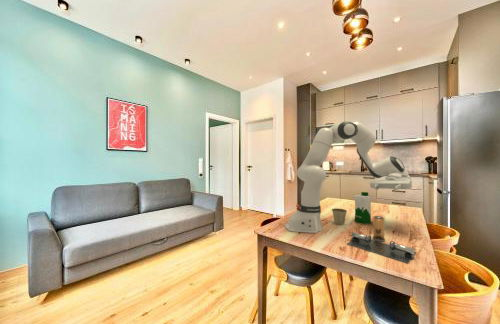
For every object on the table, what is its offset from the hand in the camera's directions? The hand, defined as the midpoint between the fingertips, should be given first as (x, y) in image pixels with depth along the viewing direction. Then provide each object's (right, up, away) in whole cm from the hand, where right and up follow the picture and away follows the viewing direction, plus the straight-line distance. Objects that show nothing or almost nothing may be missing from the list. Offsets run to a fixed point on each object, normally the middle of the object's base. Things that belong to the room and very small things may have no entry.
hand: (385, 188), depth 111 cm
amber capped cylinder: (-9, -26, -9) cm, 29 cm away
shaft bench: (-15, -26, -19) cm, 35 cm away
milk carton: (-1, -26, +20) cm, 33 cm away
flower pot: (-17, -26, +19) cm, 37 cm away
